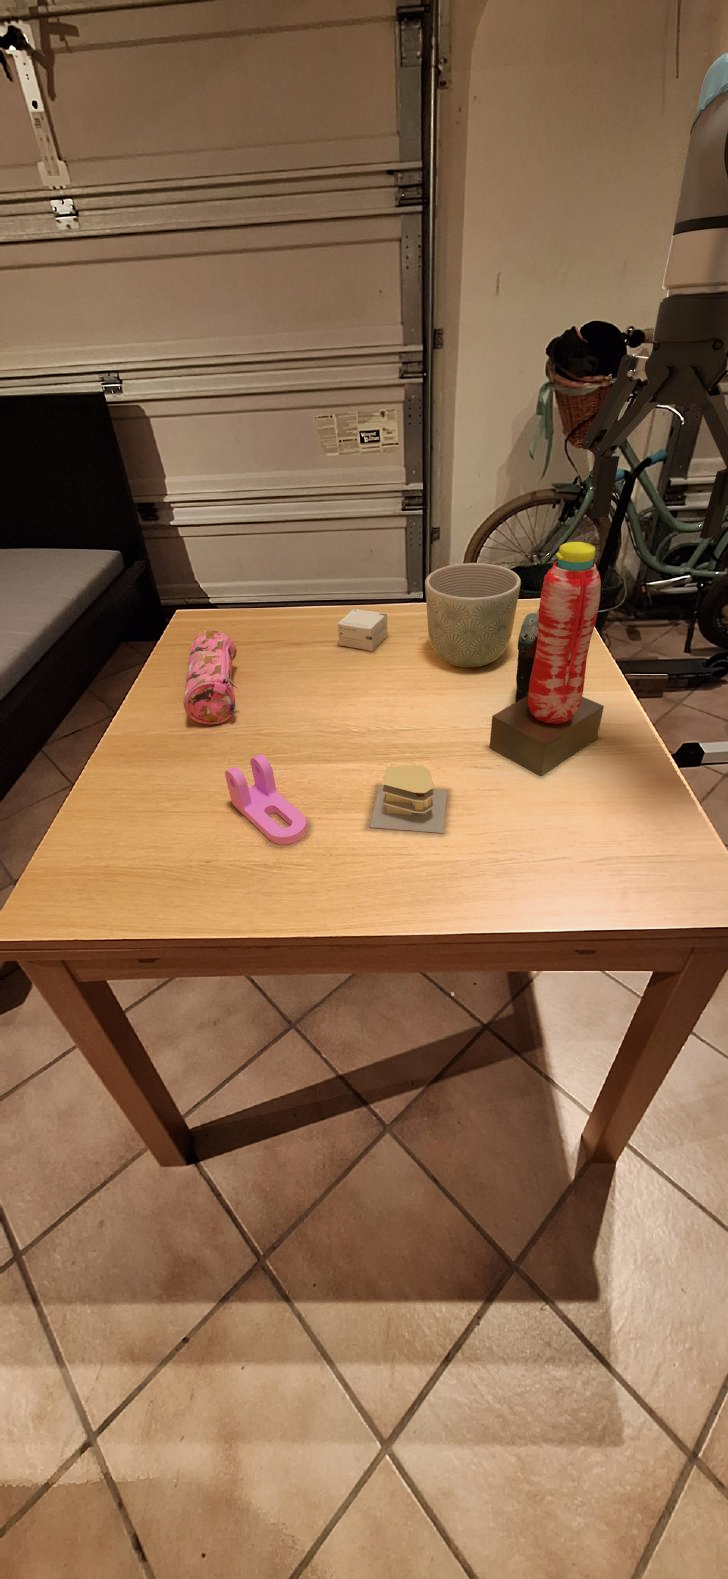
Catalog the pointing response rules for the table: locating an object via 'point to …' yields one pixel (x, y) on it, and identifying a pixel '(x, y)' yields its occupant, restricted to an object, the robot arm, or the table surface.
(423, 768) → the stacked layers on plate
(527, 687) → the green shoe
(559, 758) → the walnut stand
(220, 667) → the pencil case
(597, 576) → the water bottle
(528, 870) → the table surface
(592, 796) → the table surface
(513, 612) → the planter
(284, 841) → the bracket
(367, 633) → the small box
